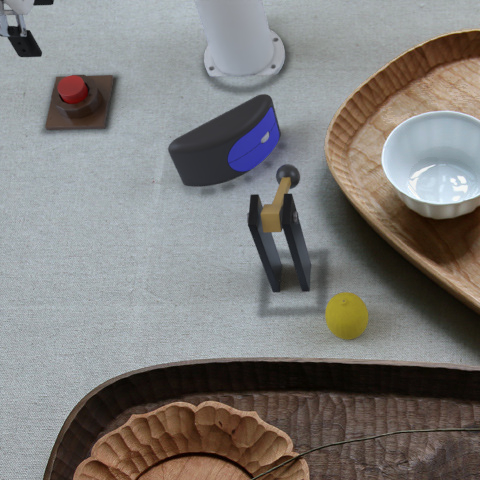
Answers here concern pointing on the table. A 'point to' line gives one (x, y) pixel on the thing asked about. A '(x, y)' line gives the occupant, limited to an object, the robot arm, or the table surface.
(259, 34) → the robot arm
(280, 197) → the switch lever
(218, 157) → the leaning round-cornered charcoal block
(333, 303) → the lemon
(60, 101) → the button base
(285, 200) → the bracket
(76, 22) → the table surface
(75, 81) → the button
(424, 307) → the table surface
